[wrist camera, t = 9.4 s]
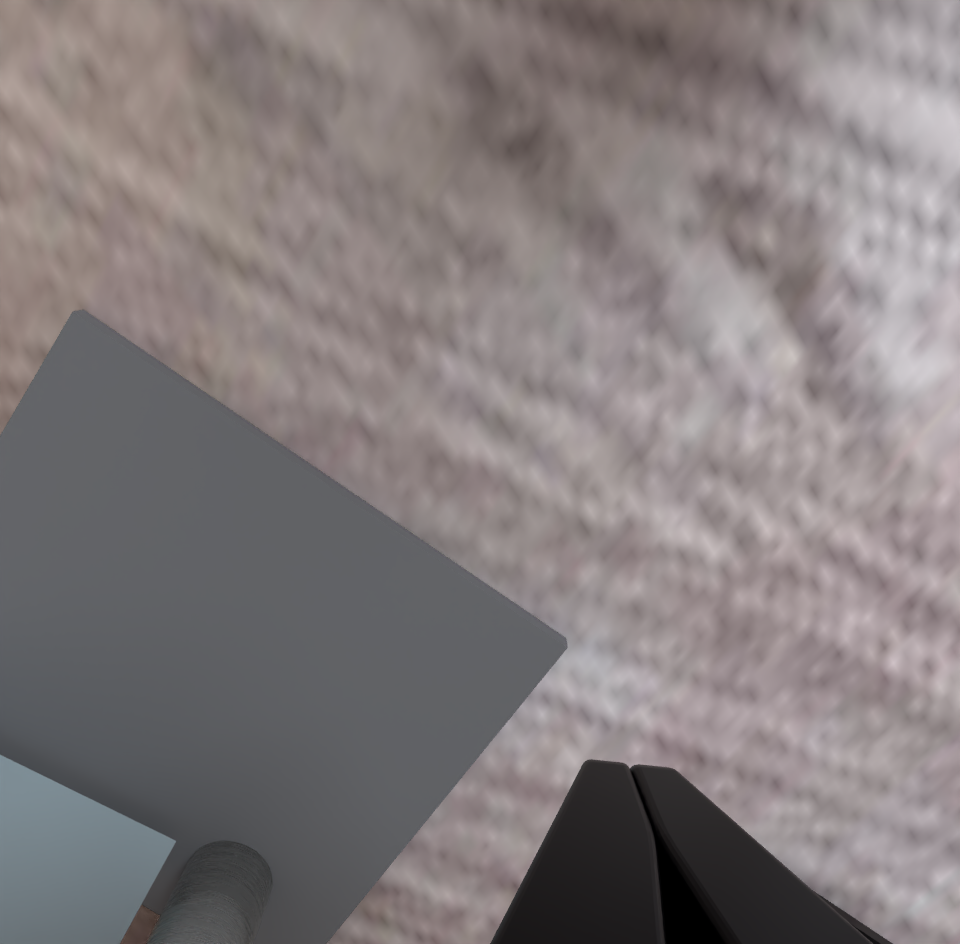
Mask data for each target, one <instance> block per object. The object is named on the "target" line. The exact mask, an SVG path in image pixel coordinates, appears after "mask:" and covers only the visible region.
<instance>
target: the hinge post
mask: <svg viewBox="0 0 960 944" xmlns="http://www.w3.org/2000/svg"><path fill="white" fill-rule="evenodd" d="M272 887H273V877H272V872H271V869H270V867H269V865H268V863H267V862H266V860H265V859H264V858H263V857H262V856H261V855H260V854H259V853H258V852H257V851H255V850H254V849H252V848H251V847H249V846H247V845H244V844H242V843H238V842H234V841H216V842H212V843H209V844H206V845H204V846H202V847H201V848H199V849H198V850H197V851H195V852H194V854H193V855H192V856H191V857H190V859H189V861H188V863H187V865H186V867H185V869H184V870H183V872H182V874H181V876H180V878H179V880H178V882H177V884H176V886H175V888H174V890H173V892H172V894H171V896H170V898H169V900H168V902H167V904H166V905H165V907H164V909H163V911H162V913H161V915H160V917H159V919H158V921H157V923H156V925H155V927H154V929H153V931H152V933H151V935H150V937H149V939H148V941H147V942H146V944H253V941H254V938H255V936H256V933H257V930H258V927H259V925H260V922H261V919H262V916H263V914H264V911H265V908H266V905H267V903H268V900H269V897H270V894H271V891H272Z"/></svg>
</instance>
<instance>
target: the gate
mask: <svg viewBox="0 0 960 944" xmlns="http://www.w3.org/2000/svg"><path fill="white" fill-rule="evenodd" d="M175 842H176V841H175V840H173V839H171V838H169V837H167V836H165V835H163V834H161V833H159V832H157V831H155V830H153V829H151V828H149V827H147V826H145V825H143V824H141V823H139V822H137V821H134V820H132V819H130V818H128V817H126V816H124V815H122V814H120V813H118V812H116V811H114V810H112V809H110V808H108V807H106V806H104V805H102V804H100V803H98V802H96V801H94V800H92V799H90V798H88V797H86V796H83V795H81V794H79V793H77V792H75V791H73V790H71V789H69V788H67V787H65V786H63V785H61V784H59V783H57V782H55V781H53V780H51V779H49V778H47V777H45V776H43V775H41V774H39V773H37V772H35V771H32V770H30V769H28V768H26V767H24V766H22V765H20V764H18V763H16V762H14V761H12V760H10V759H8V758H6V757H4V756H2V755H0V944H120V942H121V941H122V939H123V937H124V935H125V933H126V931H127V930H128V928H129V926H130V924H131V922H132V921H133V919H134V917H135V915H136V913H137V911H138V910H139V908H140V906H141V904H142V902H143V901H144V899H145V897H146V895H147V893H148V892H149V890H150V888H151V886H152V884H153V882H154V881H155V879H156V877H157V875H158V873H159V872H160V870H161V868H162V866H163V864H164V862H165V861H166V859H167V857H168V855H169V853H170V852H171V850H172V848H173V846H174V844H175Z"/></svg>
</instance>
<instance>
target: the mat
mask: <svg viewBox="0 0 960 944" xmlns="http://www.w3.org/2000/svg"><path fill="white" fill-rule="evenodd" d="M566 649H567V641H566V638H565V637H564V636H562V635H561V634H559V633H558V632H556V631H555V630H553V629H552V628H550V627H549V626H547V625H546V624H544V623H543V622H542V621H540V620H539V619H537V618H536V617H534V616H533V615H531V614H530V613H528V612H527V611H525V610H524V609H522V608H521V607H520V606H518V605H517V604H515V603H514V602H512V601H511V600H509V599H508V598H506V597H505V596H503V595H502V594H500V593H499V592H497V591H496V590H495V589H493V588H492V587H490V586H489V585H487V584H486V583H484V582H483V581H481V580H480V579H478V578H477V577H475V576H474V575H472V574H471V573H470V572H468V571H467V570H465V569H464V568H462V567H461V566H459V565H458V564H456V563H455V562H453V561H452V560H450V559H449V558H448V557H446V556H445V555H443V554H442V553H440V552H439V551H437V550H436V549H434V548H433V547H431V546H430V545H428V544H427V543H425V542H424V541H423V540H421V539H420V538H418V537H417V536H415V535H414V534H412V533H411V532H409V531H408V530H406V529H405V528H403V527H402V526H401V525H399V524H398V523H396V522H395V521H393V520H392V519H390V518H389V517H387V516H386V515H384V514H383V513H381V512H380V511H378V510H377V509H376V508H374V507H373V506H371V505H370V504H368V503H367V502H365V501H364V500H362V499H361V498H359V497H358V496H356V495H355V494H354V493H352V492H351V491H349V490H348V489H346V488H345V487H343V486H342V485H340V484H339V483H337V482H336V481H334V480H333V479H331V478H330V477H329V476H327V475H326V474H324V473H323V472H321V471H320V470H318V469H317V468H315V467H314V466H312V465H311V464H309V463H308V462H307V461H305V460H304V459H302V458H301V457H299V456H298V455H296V454H295V453H293V452H292V451H290V450H289V449H287V448H286V447H284V446H283V445H282V444H280V443H279V442H277V441H276V440H274V439H273V438H271V437H270V436H268V435H267V434H265V433H264V432H262V431H261V430H259V429H258V428H257V427H255V426H254V425H252V424H251V423H249V422H248V421H246V420H245V419H243V418H242V417H240V416H239V415H237V414H236V413H235V412H233V411H232V410H230V409H229V408H227V407H226V406H224V405H223V404H221V403H220V402H218V401H217V400H215V399H214V398H212V397H211V396H210V395H208V394H207V393H205V392H204V391H202V390H201V389H199V388H198V387H196V386H195V385H193V384H192V383H190V382H189V381H188V380H186V379H185V378H183V377H182V376H180V375H179V374H177V373H176V372H174V371H173V370H171V369H170V368H168V367H167V366H165V365H164V364H163V363H161V362H160V361H158V360H157V359H155V358H154V357H152V356H151V355H149V354H148V353H146V352H145V351H143V350H142V349H141V348H139V347H138V346H136V345H135V344H133V343H132V342H130V341H129V340H127V339H126V338H124V337H123V336H121V335H120V334H118V333H117V332H116V331H114V330H113V329H111V328H110V327H108V326H107V325H105V324H104V323H102V322H101V321H99V320H98V319H96V318H95V317H94V316H92V315H91V314H89V313H88V312H86V311H85V310H79V311H73V312H72V314H71V315H70V317H69V319H68V320H67V322H66V324H65V326H64V327H63V329H62V331H61V332H60V334H59V336H58V338H57V339H56V341H55V343H54V345H53V346H52V348H51V350H50V351H49V353H48V355H47V357H46V358H45V360H44V362H43V363H42V365H41V367H40V369H39V370H38V372H37V374H36V375H35V377H34V379H33V381H32V382H31V384H30V386H29V387H28V389H27V391H26V393H25V394H24V396H23V398H22V399H21V401H20V403H19V405H18V406H17V408H16V410H15V411H14V413H13V415H12V417H11V418H10V420H9V422H8V423H7V425H6V427H5V429H4V430H3V432H2V434H1V436H0V755H2V756H4V757H6V758H8V759H10V760H12V761H14V762H16V763H18V764H20V765H22V766H24V767H26V768H28V769H30V770H32V771H35V772H37V773H39V774H41V775H43V776H45V777H47V778H49V779H51V780H53V781H55V782H57V783H59V784H61V785H63V786H65V787H67V788H69V789H71V790H73V791H75V792H77V793H79V794H81V795H83V796H86V797H88V798H90V799H92V800H94V801H96V802H98V803H100V804H102V805H104V806H106V807H108V808H110V809H112V810H114V811H116V812H118V813H120V814H122V815H124V816H126V817H128V818H130V819H132V820H134V821H137V822H139V823H141V824H143V825H145V826H147V827H149V828H151V829H153V830H155V831H157V832H159V833H161V834H163V835H165V836H167V837H169V838H171V839H173V840H175V841H176V842H175V844H174V846H173V848H172V850H171V852H170V853H169V855H168V857H167V859H166V861H165V862H164V864H163V866H162V868H161V870H160V872H159V873H158V875H157V877H156V879H155V881H154V882H153V884H152V886H151V888H150V890H149V892H148V893H147V895H146V897H145V899H144V901H143V902H142V904H141V905H143V906H145V907H146V908H148V909H150V910H151V911H153V912H155V913H156V914H158V915H161V913H162V911H163V909H164V907H165V905H166V904H167V902H168V900H169V898H170V896H171V894H172V892H173V890H174V888H175V886H176V884H177V882H178V880H179V878H180V876H181V874H182V872H183V870H184V869H185V867H186V865H187V863H188V861H189V859H190V857H191V856H192V855H193V854H194V852H195V851H197V850H198V849H199V848H201V847H202V846H204V845H206V844H209V843H212V842H216V841H234V842H238V843H242V844H244V845H247V846H249V847H251V848H252V849H254V850H255V851H257V852H258V853H259V854H260V855H261V856H262V857H263V858H264V859H265V860H266V862H267V863H268V865H269V867H270V869H271V872H272V877H273V887H272V891H271V894H270V897H269V900H268V903H267V905H266V908H265V911H264V914H263V916H262V919H261V922H260V925H259V927H258V930H257V933H256V936H255V938H254V941H253V944H326V943H327V942H328V941H329V940H330V938H331V937H332V936H333V935H334V933H335V932H336V931H337V930H338V929H339V927H340V926H341V925H342V924H343V922H344V921H345V920H346V919H347V918H348V916H349V915H350V914H351V913H352V911H353V910H354V909H355V908H356V907H357V905H358V904H359V903H360V902H361V900H362V899H363V898H364V897H365V895H366V894H367V893H368V892H369V891H370V889H371V888H372V887H373V886H374V884H375V883H376V882H377V881H378V880H379V878H380V877H381V876H382V875H383V873H384V872H385V871H386V870H387V868H388V867H389V866H390V865H391V864H392V862H393V861H394V860H395V859H396V857H397V856H398V855H399V854H400V853H401V851H402V850H403V849H404V848H405V846H406V845H407V844H408V843H409V841H410V840H411V839H412V838H413V837H414V835H415V834H416V833H417V832H418V830H419V829H420V828H421V827H422V826H423V824H424V823H425V822H426V821H427V819H428V818H429V817H430V816H431V814H432V813H433V812H434V811H435V810H436V808H437V807H438V806H439V805H440V803H441V802H442V801H443V800H444V799H445V797H446V796H447V795H448V794H449V792H450V791H451V790H452V789H453V787H454V786H455V785H456V784H457V783H458V781H459V780H460V779H461V778H462V776H463V775H464V774H465V773H466V772H467V770H468V769H469V768H470V767H471V765H472V764H473V763H474V762H475V761H476V759H477V758H478V757H479V756H480V754H481V753H482V752H483V751H484V749H485V748H486V747H487V746H488V745H489V743H490V742H491V741H492V740H493V738H494V737H495V736H496V735H497V734H498V732H499V731H500V730H501V729H502V727H503V726H504V725H505V724H506V722H507V721H508V720H509V719H510V718H511V716H512V715H513V714H514V713H515V711H516V710H517V709H518V708H519V707H520V705H521V704H522V703H523V702H524V700H525V699H526V698H527V697H528V695H529V694H530V693H531V692H532V691H533V689H534V688H535V687H536V686H537V684H538V683H539V682H540V681H541V680H542V678H543V677H544V676H545V675H546V673H547V672H548V671H549V670H550V668H551V667H552V666H553V665H554V664H555V662H556V661H557V660H558V659H559V657H560V656H561V655H562V654H563V653H564V651H565V650H566Z"/></svg>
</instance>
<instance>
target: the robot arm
mask: <svg viewBox="0 0 960 944" xmlns="http://www.w3.org/2000/svg"><path fill="white" fill-rule="evenodd" d="M490 944H892V943H891V942H889V941H888V940H886V939H885V938H883V937H882V936H880V935H879V934H877V933H876V932H874V931H873V930H871V929H870V928H868V927H867V926H865V925H864V924H862V923H861V922H859V921H858V920H856V919H855V918H853V917H852V916H850V915H849V914H847V913H846V912H844V911H843V910H841V909H840V908H838V907H837V906H835V905H834V904H832V903H831V902H829V901H828V900H826V899H825V898H823V897H822V896H820V895H819V894H817V893H816V892H814V891H813V890H811V889H810V888H809V887H808V886H807V885H806V884H805V883H804V882H802V881H801V880H800V879H799V878H798V877H797V876H796V875H794V874H793V873H792V872H791V871H790V870H789V869H788V868H787V867H785V866H784V865H783V864H782V863H781V862H780V861H779V860H777V859H776V858H775V857H774V856H773V855H772V854H771V853H770V852H768V851H767V850H766V849H765V848H764V847H763V846H762V845H760V844H759V843H758V842H757V841H756V840H755V839H754V838H753V837H751V836H750V835H749V834H748V833H747V832H746V831H745V830H743V829H742V828H741V827H740V826H739V825H738V824H737V823H735V822H734V821H733V820H732V819H731V818H730V817H729V816H728V815H726V814H725V813H724V812H723V811H722V810H721V809H720V808H718V807H717V806H716V805H715V804H714V803H713V802H712V801H711V800H709V799H708V798H707V797H706V796H705V795H704V794H703V793H701V792H700V791H699V790H698V789H697V788H696V787H695V786H694V785H692V784H691V783H690V782H689V781H688V780H687V779H686V778H684V777H683V776H682V775H681V774H680V773H679V772H677V771H676V770H675V769H672V768H669V767H659V766H649V765H634V766H632V767H631V769H630V768H629V767H628V766H627V765H626V764H624V763H620V762H610V761H601V760H587V761H585V762H584V764H583V765H582V767H581V769H580V771H579V773H578V775H577V777H576V779H575V781H574V782H573V784H572V786H571V788H570V790H569V792H568V794H567V796H566V798H565V800H564V802H563V804H562V806H561V808H560V810H559V812H558V814H557V815H556V817H555V819H554V821H553V823H552V825H551V827H550V829H549V831H548V833H547V835H546V837H545V839H544V841H543V843H542V845H541V847H540V848H539V850H538V852H537V854H536V856H535V858H534V860H533V862H532V864H531V866H530V868H529V870H528V872H527V874H526V876H525V878H524V879H523V881H522V883H521V885H520V887H519V889H518V891H517V893H516V895H515V897H514V899H513V901H512V903H511V905H510V907H509V909H508V911H507V912H506V914H505V916H504V918H503V920H502V922H501V924H500V926H499V928H498V930H497V932H496V934H495V936H494V938H493V940H492V942H491V943H490Z"/></svg>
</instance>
